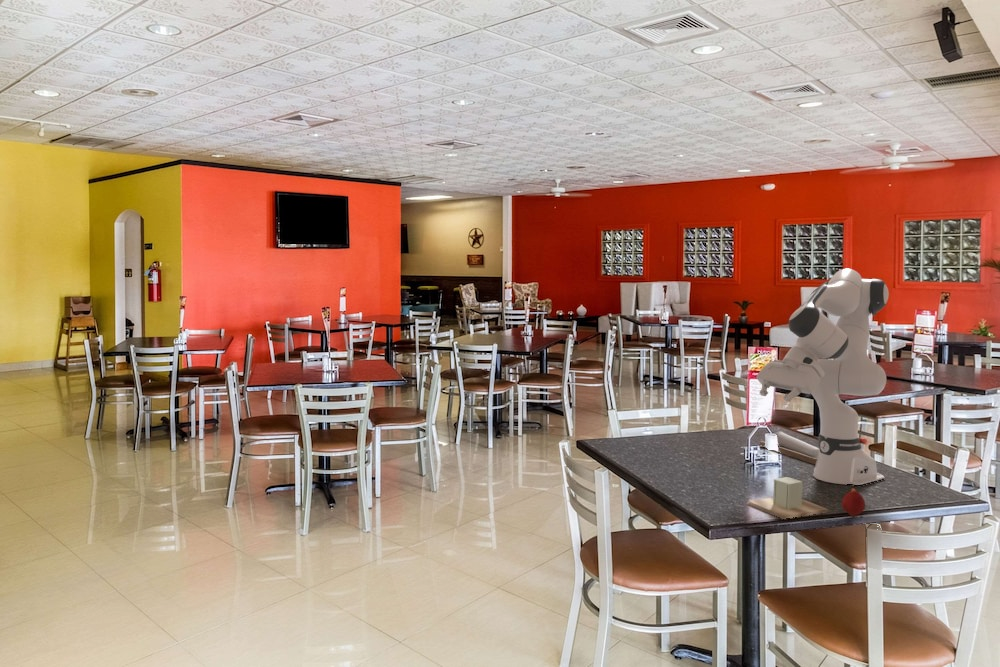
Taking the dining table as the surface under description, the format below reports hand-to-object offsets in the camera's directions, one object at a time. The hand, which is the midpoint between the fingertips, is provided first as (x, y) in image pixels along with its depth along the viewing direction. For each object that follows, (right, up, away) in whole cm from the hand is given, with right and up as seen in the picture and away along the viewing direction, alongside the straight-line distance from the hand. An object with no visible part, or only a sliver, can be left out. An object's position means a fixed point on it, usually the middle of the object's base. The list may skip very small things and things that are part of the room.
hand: (774, 397), depth 229 cm
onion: (+14, -31, -22) cm, 41 cm away
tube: (+26, -25, +47) cm, 59 cm away
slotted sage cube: (-2, -29, -16) cm, 33 cm away
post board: (-2, -30, -16) cm, 34 cm away
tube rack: (+26, -25, +47) cm, 59 cm away
